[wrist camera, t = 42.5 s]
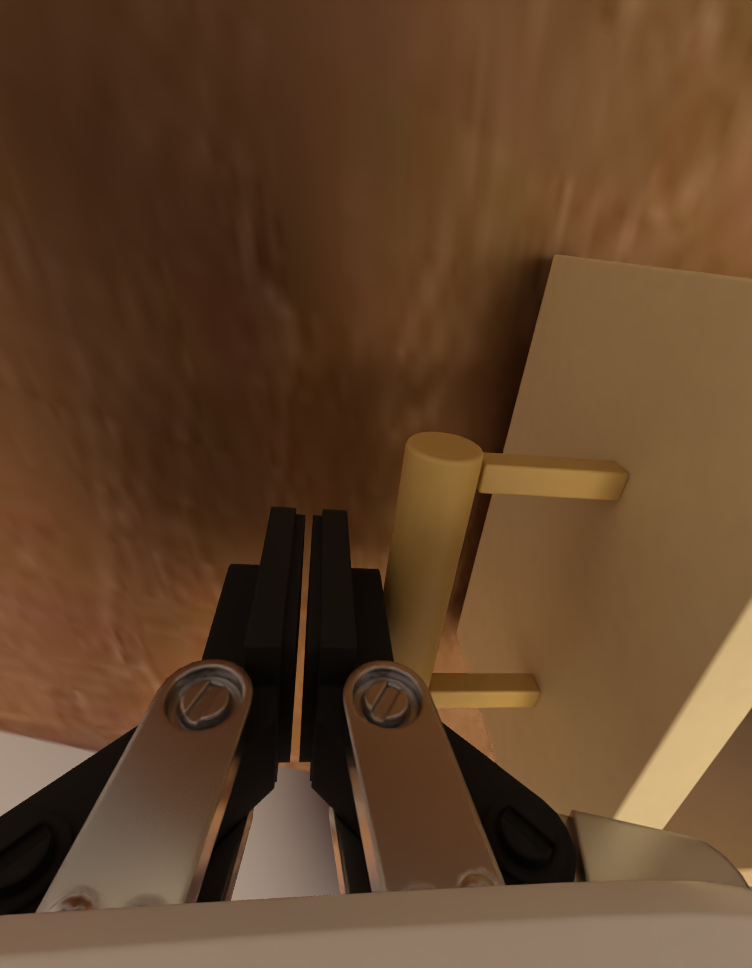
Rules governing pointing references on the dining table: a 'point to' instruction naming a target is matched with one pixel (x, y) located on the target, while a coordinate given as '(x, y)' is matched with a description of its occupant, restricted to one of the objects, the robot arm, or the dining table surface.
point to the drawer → (603, 556)
